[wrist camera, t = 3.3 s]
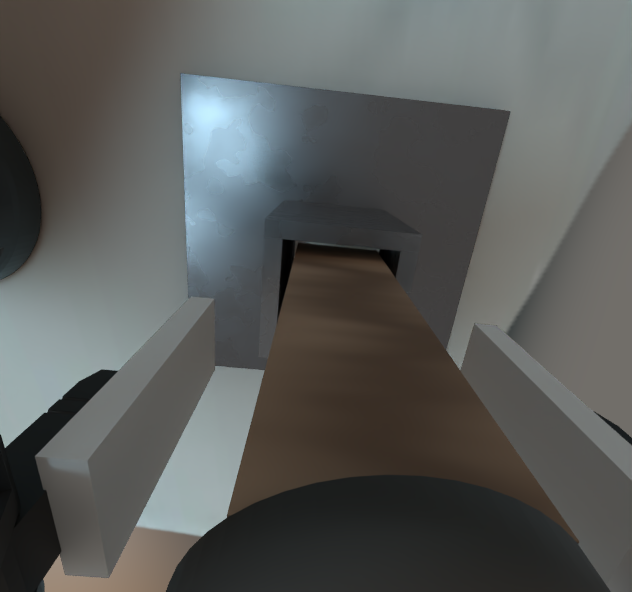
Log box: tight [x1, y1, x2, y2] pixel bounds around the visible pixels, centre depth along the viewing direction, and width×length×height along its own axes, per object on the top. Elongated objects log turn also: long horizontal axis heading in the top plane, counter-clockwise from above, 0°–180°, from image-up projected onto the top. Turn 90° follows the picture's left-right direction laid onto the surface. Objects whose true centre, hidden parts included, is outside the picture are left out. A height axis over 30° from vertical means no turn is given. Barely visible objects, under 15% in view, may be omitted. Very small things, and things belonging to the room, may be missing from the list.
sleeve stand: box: [180, 73, 510, 370], centre depth 20 cm, size 20×20×10 cm
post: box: [166, 240, 611, 592], centre depth 13 cm, size 6×6×22 cm
